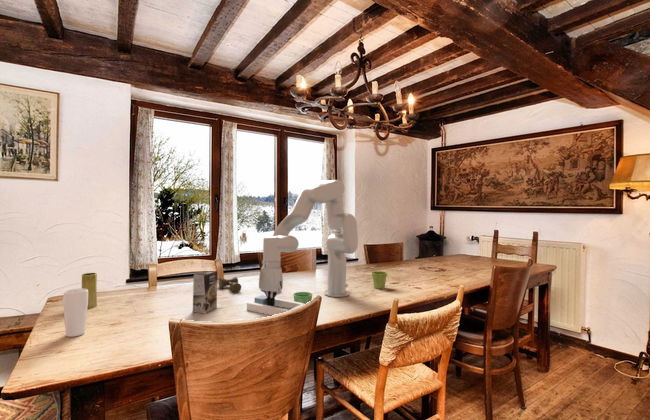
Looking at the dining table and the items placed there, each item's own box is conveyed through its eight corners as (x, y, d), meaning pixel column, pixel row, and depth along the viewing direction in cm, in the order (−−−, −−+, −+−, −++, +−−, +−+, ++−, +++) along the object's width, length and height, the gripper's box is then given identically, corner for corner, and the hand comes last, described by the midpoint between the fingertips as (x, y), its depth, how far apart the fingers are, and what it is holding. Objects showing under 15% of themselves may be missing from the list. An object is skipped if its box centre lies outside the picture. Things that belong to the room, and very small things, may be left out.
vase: (100, 305, 144) (101, 273, 144) (86, 309, 138) (87, 275, 138) (90, 303, 146) (91, 272, 146) (76, 307, 140) (76, 274, 140)
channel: (266, 302, 153) (266, 296, 153) (306, 310, 142) (306, 303, 142) (246, 309, 142) (246, 302, 142) (289, 319, 131) (289, 311, 131)
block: (261, 305, 149) (262, 295, 149) (270, 306, 147) (270, 296, 147) (254, 307, 145) (254, 297, 145) (263, 309, 143) (263, 299, 143)
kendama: (227, 295, 167) (216, 285, 184) (245, 293, 173) (232, 284, 189) (228, 283, 167) (216, 275, 184) (246, 281, 173) (233, 273, 189)
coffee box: (206, 313, 136) (206, 274, 136) (192, 312, 137) (192, 274, 137) (217, 307, 145) (218, 270, 145) (204, 306, 146) (205, 270, 146)
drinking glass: (71, 330, 115) (72, 288, 115) (92, 330, 115) (92, 288, 115) (57, 338, 108) (58, 293, 108) (79, 338, 109) (80, 293, 108)
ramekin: (299, 307, 147) (299, 297, 147) (289, 302, 154) (289, 293, 154) (316, 304, 152) (316, 295, 152) (305, 299, 160) (305, 290, 160)
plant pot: (367, 288, 185) (368, 272, 185) (375, 285, 193) (375, 270, 193) (383, 290, 180) (383, 275, 180) (390, 287, 188) (390, 272, 188)
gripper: (252, 263, 144) (251, 305, 144) (280, 267, 137) (279, 311, 137) (263, 261, 150) (262, 301, 151) (290, 264, 143) (289, 306, 143)
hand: (270, 305), depth 144 cm, fingers closed
